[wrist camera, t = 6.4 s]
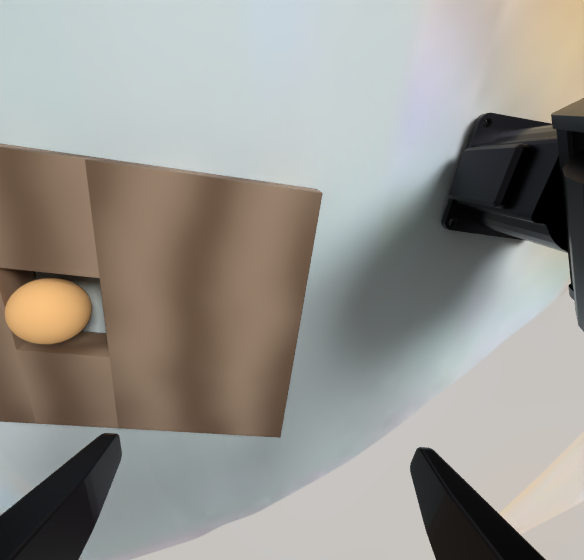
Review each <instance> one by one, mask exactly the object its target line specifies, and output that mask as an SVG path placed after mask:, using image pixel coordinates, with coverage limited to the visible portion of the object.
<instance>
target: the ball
mask: <svg viewBox="0 0 584 560" xmlns="http://www.w3.org/2000/svg"><path fill="white" fill-rule="evenodd" d="M91 312H92V305H91V301H90V298H89V296H88V295H87V293H86V292H85V291H84V290H83V289H82V288H81V287H80V286H78V285H77V284H75V283H73V282H71V281H68V280H65V279H60V278H42V279H37V280H34V281H31V282H29V283H27V284H25V285H23V286H21V287H20V288H18V289H17V290H16V291H15V292H14V293H13V294H12V295H11V297H10V298H9V300H8V302H7V304H6V307H5V319H6V323H7V325H8V327H9V328H10V330H11V331H12V332H13V333H14V334H15V335H17V336H18V337H20V338H21V339H23V340H25V341H28V342H31V343H36V344H55V343H59V342H63V341H65V340H68V339H70V338H72V337H74V336H75V335H77V334H78V333H79V332H81V331H82V330H83V329H84V327H85V326H86V325H87V323H88V322H89V319H90V317H91Z"/></svg>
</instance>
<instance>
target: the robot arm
mask: <svg viewBox="0 0 584 560" xmlns="http://www.w3.org/2000/svg"><path fill="white" fill-rule="evenodd" d="M551 117H552V124H550V123H544V122H539V121H533V120H528V119H522V118H517V117H511V116H506V115H500V114H495V113H486V114H482V115H480V116H479V117H478V118H477V119H476V121H475V123H474V126H473V129H472V132H471V135H470V138H469V141H468V144H467V147H466V150H464V151H463V153H462V156H461V159H460V162H459V165H458V168H457V171H456V174H455V177H454V180H453V183H452V186H451V189H450V192H449V195H450V197H449V200H448V203H447V206H446V209H445V212H444V215H443V218H442V226H443V227H444V228H446V229H449V230H454V231H462V232H469V233H476V234H484V235H491V236H498V237H506V238H513V239H521V240H528V241H531V242H534V243H537V244H540V245H544V246H547V247H550V248H553V249H557V250H560V251H563V252H566V253H568V257H569V267H570V278H571V284H569V295H570V296H571V297H572V299H574V301H575V310H576V315H577V320H578V325H579V326H580V328H581V329H582V330H583V331H584V98H583V99H581V100H579V101H577V102H575V103H573V104H570V105H568V106H566V107H564V108H562V109H560V110H558V111H556V112H554V113H552V114H551ZM485 119H486V120H487V126H486V127H485V128H484V126H483V122H484V120H485ZM452 218H453V222H452V224H450V225H449V221H450V219H452ZM121 457H122V451H121V444H120V438H119V435H118V434H114V433H104V434H101V435H100V436H98V437H97V438H96V439H95V440H93V441H92V442H91V443H90V444H89V445H87V446H86V447H85V448H84V449H82V450H81V451H80V452H79V453H77V454H76V455H75V456H74V457H72V458H71V459H70V460H69V461H67V462H66V463H65V464H64V465H63V466H61V467H60V468H59V469H58V470H56V471H55V472H54V473H53V474H51V475H50V476H49V477H48V478H46V479H45V480H44V481H43V482H41V483H40V484H39V485H38V486H36V487H35V488H34V489H33V490H32V491H30V492H29V493H28V494H27V495H25V496H24V497H23V498H22V499H20V500H19V501H18V502H17V503H15V504H14V505H13V506H12V507H10V508H9V509H8V510H7V511H6V512H4V513H3V514H2V515H1V516H0V560H78V559H79V557H80V555H81V553H82V551H83V549H84V547H85V545H86V543H87V541H88V539H89V537H90V535H91V533H92V531H93V529H94V526H95V524H96V522H97V519H98V517H99V515H100V512H101V510H102V507H103V504H104V502H105V499H106V497H107V494H108V492H109V489H110V487H111V484H112V481H113V479H114V476H115V474H116V471H117V469H118V466H119V464H120V461H121ZM410 472H411V476H412V479H413V484H414V487H415V491H416V495H417V499H418V503H419V506H420V510H421V514H422V518H423V521H424V525H425V529H426V532H427V535H428V537H429V541H430V544H431V547H432V549H433V552H434V555H435V558H436V560H546V559H545V558H544V557H543V556H541V555H540V554H539V553H538V552H537V551H536V550H535V549H534V548H533V547H532V546H531V545H530V544H529V543H528V542H527V541H526V540H525V539H524V538H523V537H522V536H521V535H520V534H519V533H518V532H517V531H516V530H515V529H514V528H513V527H512V526H511V525H510V524H509V523H508V522H507V521H506V520H505V519H504V518H503V517H502V516H501V515H500V514H499V513H497V512H496V511H495V510H494V509H493V508H492V507H491V506H490V505H489V504H488V503H487V502H486V501H485V500H484V499H483V498H482V497H481V496H480V495H479V494H478V493H477V492H476V491H475V490H474V489H473V488H472V487H471V486H470V485H469V484H468V483H467V482H466V481H465V480H464V479H463V478H462V477H461V476H460V475H459V474H458V473H457V472H455V471H454V470H453V469H452V468H451V467H450V466H449V465H448V464H447V463H446V462H445V461H444V460H443V459H442V458H441V457H440V456H439V455H438V454H437V453H436V452H435V451H434V450H433V449H431V448H425V447H419V448H417V450H416V452H415V454H414V457H413V459H412V462H411V465H410Z"/></svg>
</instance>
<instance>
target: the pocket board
mask: <svg viewBox="0 0 584 560" xmlns="http://www.w3.org/2000/svg"><path fill="white" fill-rule="evenodd" d="M321 198H322V193H321V192H320V191H318V190H317V189H312V188H305V187H298V186H291V185H284V184H277V183H270V182H263V181H257V180H250V179H243V178H236V177H229V176H222V175H215V174H208V173H201V172H194V171H187V170H180V169H173V168H166V167H159V166H152V165H145V164H138V163H131V162H124V161H117V160H110V159H103V158H96V157H89V156H82V155H75V154H68V153H61V152H54V151H48V150H41V149H34V148H27V147H20V146H13V145H6V144H0V421H3V422H20V423H37V424H55V425H72V426H90V427H107V428H125V429H142V430H160V431H177V432H194V433H212V434H229V435H247V436H264V437H280V436H281V430H282V424H283V419H284V413H285V407H286V401H287V395H288V390H289V384H290V378H291V372H292V366H293V361H294V355H295V349H296V343H297V337H298V332H299V326H300V320H301V314H302V308H303V303H304V297H305V291H306V285H307V279H308V274H309V268H310V262H311V256H312V251H313V245H314V239H315V233H316V227H317V222H318V216H319V210H320V204H321ZM34 271H37V272H46V273H56V274H65V275H75V276H84V277H94V278H100V285H101V293H102V301H103V309H104V317H105V325H106V333H96V332H84V331H81V332H79V333H78V334H77V335H75V336H74V337H72V338H70V339H68V340H65V341H63V342H59V343H55V344H36V343H31V342H28V341H25V340H23V339H21V338H20V337H18V336H17V335H15V334H14V333H13V332H12V331H11V330H10V328H9V327H8V325H7V323H6V319H5V307H6V304H7V302H8V300H9V298H10V297H11V295H12V294H13V293H14V292H15V291H16V290H17V289H18V288H20V287H21V286H23V285H25V284H27V283H29V282H31V281H34V280H36V277H35V272H34Z"/></svg>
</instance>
